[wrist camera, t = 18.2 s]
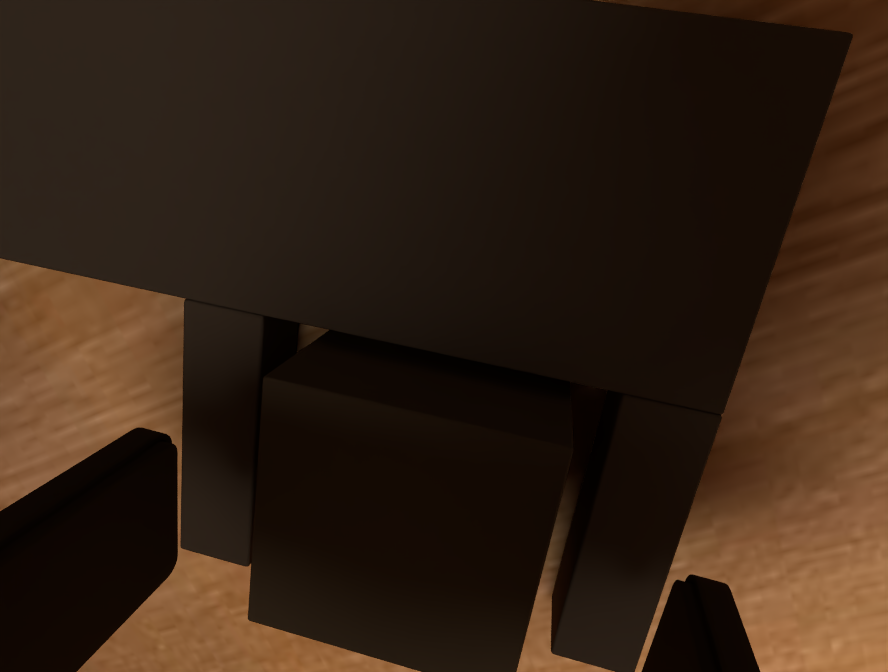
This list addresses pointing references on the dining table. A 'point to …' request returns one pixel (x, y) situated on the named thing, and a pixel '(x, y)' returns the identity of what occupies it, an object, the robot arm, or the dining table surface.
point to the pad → (406, 502)
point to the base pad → (430, 219)
